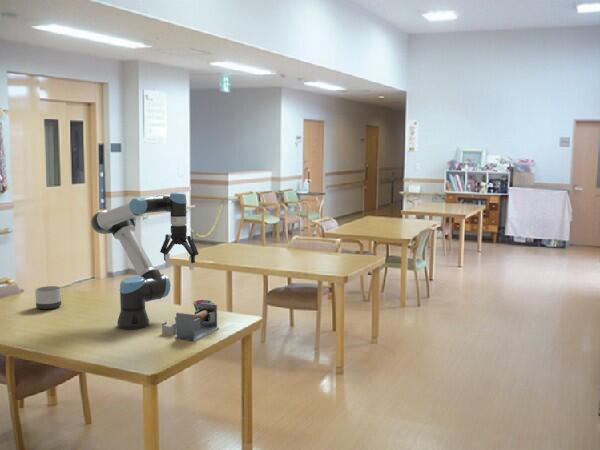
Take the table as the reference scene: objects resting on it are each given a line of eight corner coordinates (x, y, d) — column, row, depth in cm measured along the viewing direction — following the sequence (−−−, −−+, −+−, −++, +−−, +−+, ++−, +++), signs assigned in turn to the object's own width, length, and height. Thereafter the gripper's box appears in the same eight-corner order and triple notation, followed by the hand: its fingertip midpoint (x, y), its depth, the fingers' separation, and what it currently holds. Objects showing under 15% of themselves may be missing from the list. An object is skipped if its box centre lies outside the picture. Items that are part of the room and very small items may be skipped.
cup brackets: (176, 338, 288) (176, 313, 286) (201, 326, 307) (200, 302, 305) (193, 341, 284) (193, 315, 283) (217, 328, 303) (216, 304, 302)
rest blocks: (161, 333, 295) (161, 323, 294) (178, 326, 308) (178, 315, 307) (173, 335, 292) (173, 324, 292) (189, 327, 305) (189, 317, 305)
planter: (44, 304, 349) (43, 285, 348) (65, 305, 348) (65, 286, 346) (31, 310, 337) (30, 291, 336) (53, 311, 335) (52, 291, 334)
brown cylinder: (192, 328, 287) (192, 318, 286) (184, 326, 289) (184, 317, 288) (209, 319, 301) (209, 310, 300) (201, 318, 302) (201, 309, 302)
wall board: (174, 338, 288) (174, 336, 288) (199, 326, 307) (199, 324, 307) (195, 341, 284) (195, 339, 284) (219, 329, 303) (219, 327, 303)
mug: (199, 326, 307) (199, 305, 306) (189, 322, 314) (189, 301, 313) (220, 322, 315) (219, 301, 314) (209, 318, 322) (209, 298, 321)
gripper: (152, 224, 302) (153, 267, 305) (196, 227, 293) (197, 272, 295) (161, 222, 309) (162, 265, 312) (205, 225, 300) (205, 269, 302)
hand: (179, 268), depth 304 cm, fingers open, 13 cm apart
